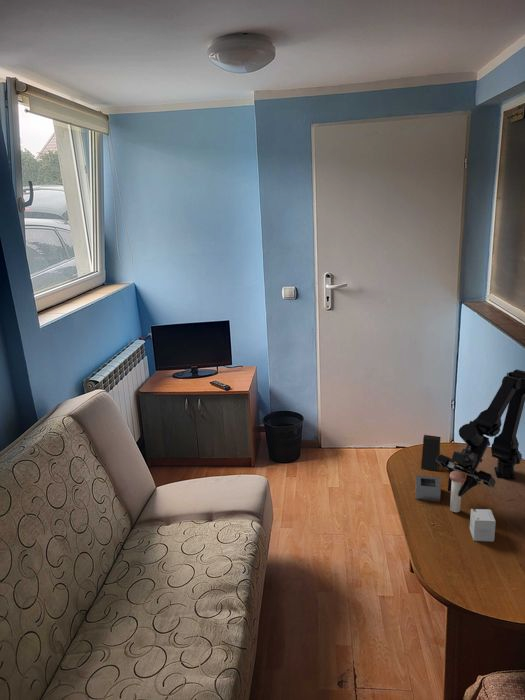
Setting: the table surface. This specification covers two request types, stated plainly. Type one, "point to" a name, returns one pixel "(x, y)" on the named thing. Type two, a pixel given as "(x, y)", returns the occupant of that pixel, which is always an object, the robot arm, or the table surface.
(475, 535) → the skincare box
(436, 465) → the phone stand
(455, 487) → the pin
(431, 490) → the block
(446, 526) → the table surface
